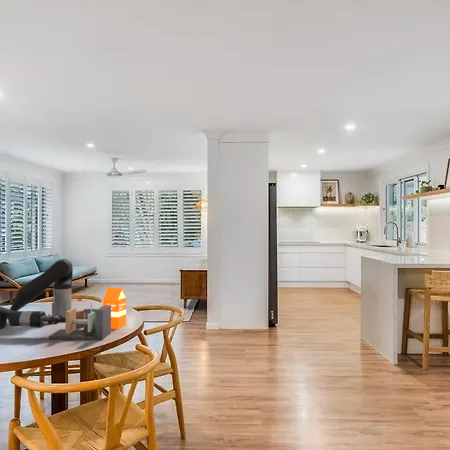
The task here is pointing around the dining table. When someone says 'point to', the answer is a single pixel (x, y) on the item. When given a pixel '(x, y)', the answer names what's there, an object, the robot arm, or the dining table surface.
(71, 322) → the plunger
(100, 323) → the grey l-shaped bracket
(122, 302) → the orange juice
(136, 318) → the dining table surface
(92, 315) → the pointer
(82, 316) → the tin
